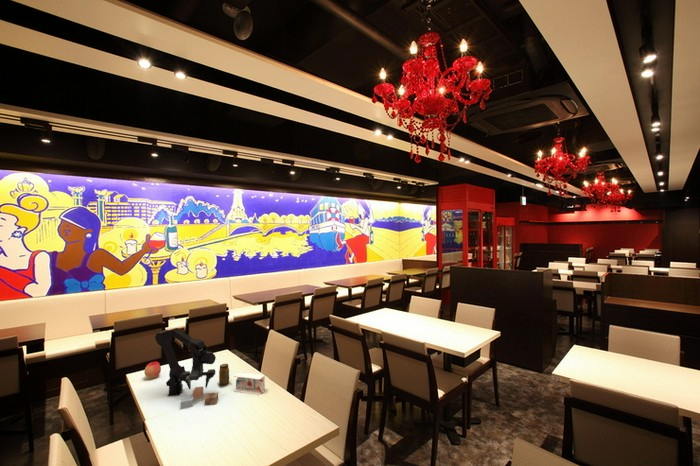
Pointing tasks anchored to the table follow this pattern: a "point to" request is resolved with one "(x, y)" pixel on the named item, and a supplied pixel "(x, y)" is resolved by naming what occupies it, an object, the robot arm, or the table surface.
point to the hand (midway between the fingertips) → (198, 388)
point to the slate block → (186, 402)
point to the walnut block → (211, 398)
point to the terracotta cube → (198, 392)
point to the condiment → (224, 376)
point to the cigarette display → (250, 383)
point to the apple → (152, 370)
